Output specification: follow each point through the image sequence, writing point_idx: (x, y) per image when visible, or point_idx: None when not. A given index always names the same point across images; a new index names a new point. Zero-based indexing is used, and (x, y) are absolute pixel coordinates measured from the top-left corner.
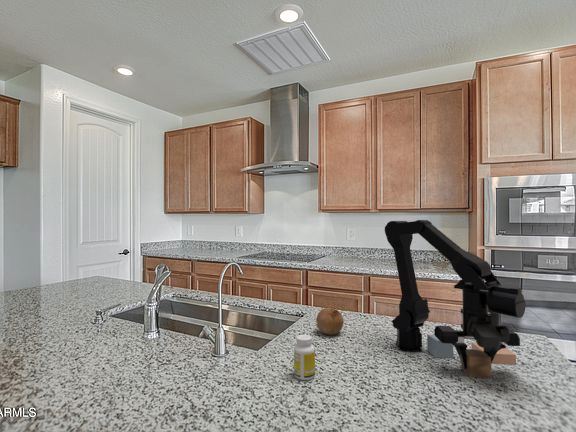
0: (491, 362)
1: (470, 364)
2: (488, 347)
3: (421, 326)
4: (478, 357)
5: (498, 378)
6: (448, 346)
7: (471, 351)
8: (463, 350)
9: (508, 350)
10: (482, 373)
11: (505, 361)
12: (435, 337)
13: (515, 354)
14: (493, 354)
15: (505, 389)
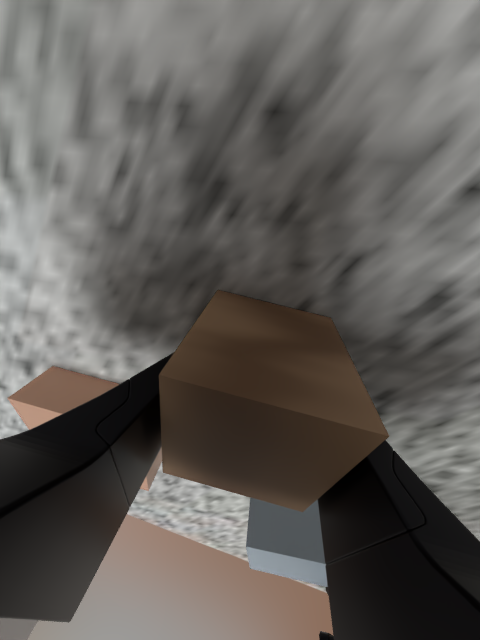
0: (163, 360)
1: (353, 369)
2: (94, 505)
3: (328, 635)
4: (292, 408)
5: (181, 279)
6: (275, 506)
7: (258, 479)
8: (447, 546)
9: (32, 427)
10: (261, 312)
11: (81, 384)
12: (319, 575)
13: (9, 400)
14: (103, 408)
15: (224, 121)
